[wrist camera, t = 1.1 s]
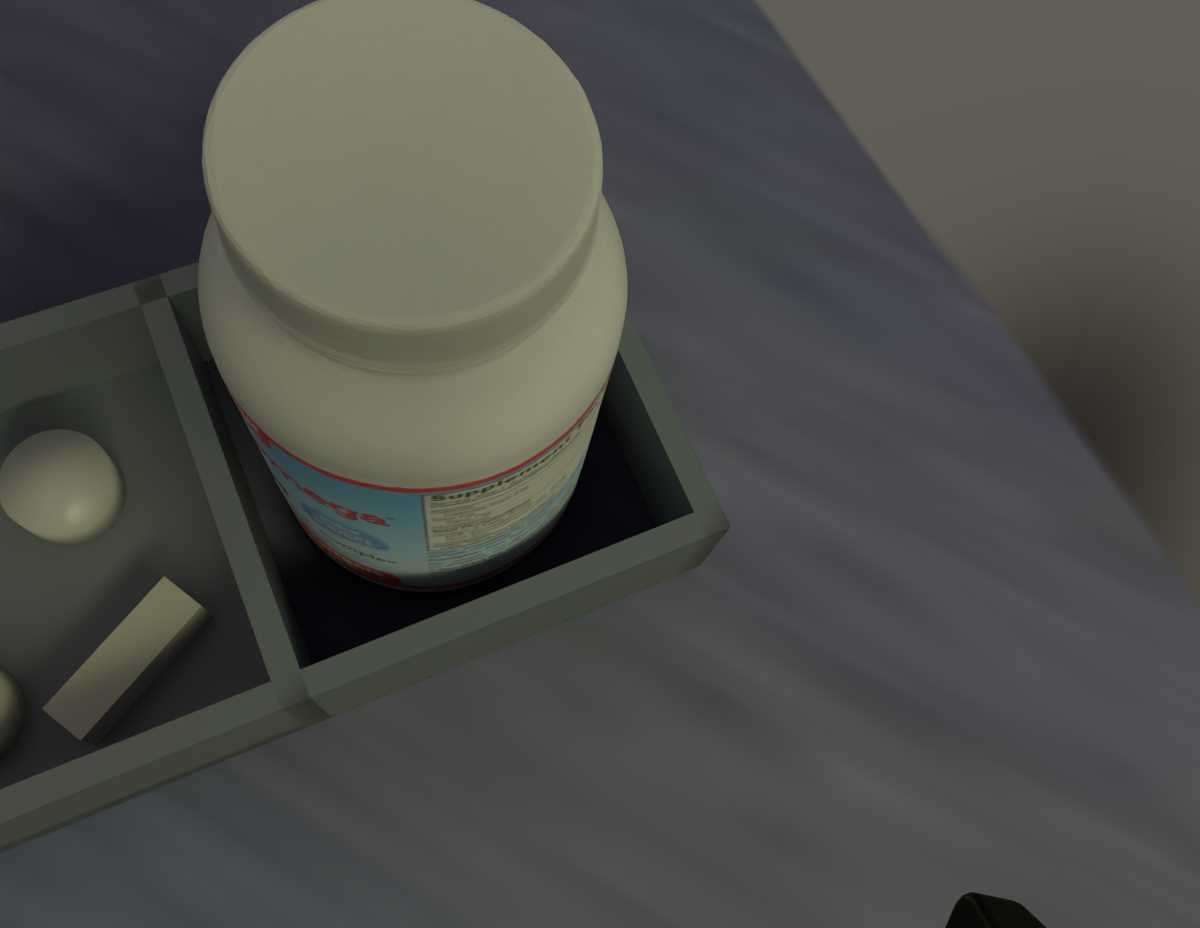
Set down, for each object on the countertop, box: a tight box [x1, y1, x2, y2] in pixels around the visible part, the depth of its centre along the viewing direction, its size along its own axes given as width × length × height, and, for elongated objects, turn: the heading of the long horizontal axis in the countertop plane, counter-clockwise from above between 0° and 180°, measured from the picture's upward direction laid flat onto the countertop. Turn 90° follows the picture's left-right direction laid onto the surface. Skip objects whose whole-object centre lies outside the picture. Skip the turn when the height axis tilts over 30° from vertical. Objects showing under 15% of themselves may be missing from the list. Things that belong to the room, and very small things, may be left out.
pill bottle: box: [198, 0, 627, 592], centre depth 18 cm, size 6×6×11 cm
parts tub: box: [0, 262, 730, 853], centre depth 21 cm, size 20×8×3 cm, turn 113°
